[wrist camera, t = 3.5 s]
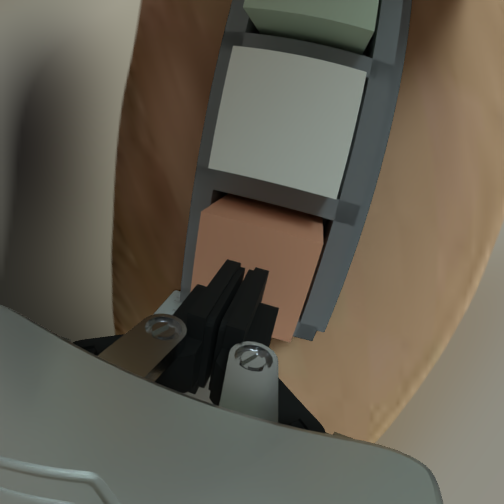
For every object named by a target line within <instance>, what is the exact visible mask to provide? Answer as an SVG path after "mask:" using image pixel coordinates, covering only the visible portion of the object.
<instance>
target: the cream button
mask: <svg viewBox="0 0 504 504" xmlns="http://www.w3.org/2000/svg"><path fill="white" fill-rule="evenodd" d="M366 74H367V72H365V71H361V70H358V69H354V68H351V67H347V66H344V65H340V64H336V63H332V62H328V61H324V60H319V59H315V58H310V57H306V56H301V55H295V54H290V53H284V52H279V51H272V50H265V49H258V48H250V47H241V46H233V48H232V53H231V57H230V61H229V66H228V70H227V75H226V79H225V84H224V88H223V93H222V98H221V103H220V108H219V113H218V118H217V123H216V128H215V133H214V138H213V144H212V149H211V155H210V161H209V166H208V168H210V169H215V170H220V171H224V172H229V173H233V174H238V175H242V176H247V177H251V178H255V179H259V180H264V181H268V182H272V183H276V184H280V185H284V186H288V187H292V188H296V189H299V190H303V191H307V192H311V193H314V194H318V195H322V196H325V197H329V198H332V199H337V195H338V192H339V188H340V184H341V181H342V177H343V173H344V169H345V165H346V162H347V158H348V154H349V150H350V146H351V142H352V137H353V133H354V129H355V125H356V120H357V116H358V112H359V107H360V103H361V98H362V93H363V89H364V84H365V79H366Z"/></svg>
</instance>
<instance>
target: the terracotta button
mask: <svg viewBox="0 0 504 504" xmlns="http://www.w3.org/2000/svg"><path fill="white" fill-rule="evenodd" d="M322 247H323V217H319V216H316V215H312V214H308V213H305V212H301V211H297V210H294V209H290V208H286V207H282V206H278V205H274V204H271V203H267V202H263V201H259V200H255V199H251V198H247V197H243V196H238V195H234V194H230V193H228V194H227V195H225V196H224V197H222V198H221V199H219V200H218V201H216V202H215V203H213V204H212V205H210V206H209V207H207V208H206V209H204V210H203V211H201V216H200V223H199V230H198V237H197V244H196V251H195V259H194V267H193V275H192V283H191V291H192V290H193V289H194V287H195V286H196V285H197V284H200V285H203V286H206V287H207V286H208V284H209V283H210V282H211V280H212V279H213V278H214V276H215V275H216V273H217V272H218V271H219V269H220V268H221V267H222V265H223V264H224V263H225V261H226V260H227V259H228V260H232V261H236V262H239V263H241V267H243V268H245V273H244V278H245V276H246V274H247V272H248V270H249V269H250V270H254V269H255V267H257V268H261V269H264V270H268V271H269V274H268V278H267V282H266V286H265V290H264V294H263V298H262V302H261V303H264V304H267V305H271V306H274V307H278V308H279V311H278V315H277V318H276V322H275V326H274V330H273V334H272V338H275V339H279V340H283V341H286V342H291V339H292V336H293V334H294V331H295V328H296V325H297V322H298V320H299V317H300V314H301V311H302V308H303V305H304V302H305V299H306V296H307V293H308V290H309V287H310V284H311V281H312V278H313V275H314V272H315V269H316V266H317V263H318V260H319V256H320V253H321V250H322ZM244 278H243V280H244ZM191 291H190V292H191Z"/></svg>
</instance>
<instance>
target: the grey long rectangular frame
mask: <svg viewBox="0 0 504 504" xmlns="http://www.w3.org/2000/svg"><path fill="white" fill-rule="evenodd" d="M244 1H245V0H233V1H232V4H231V8H230V12H229V15H228V19H227V23H226V27H225V31H224V35H223V39H222V43H221V47H220V51H219V56H218V60H217V64H216V69H215V73H214V78H213V82H212V87H211V92H210V97H209V102H208V107H207V112H206V117H205V122H204V127H203V133H202V138H201V144H200V150H199V156H198V162H197V168H196V174H195V180H194V187H193V193H192V200H191V207H190V215H189V222H188V230H187V238H186V246H185V254H184V263H183V273H182V282H181V293H180V302H181V303H182V302H183V301H184V300H185V299H186V297H187V296H188V295H189V294H190V291H191V283H192V275H193V267H194V259H195V251H196V244H197V237H198V230H199V223H200V216H201V211H203V210H204V209H206V208H207V207H209V206H210V205H212V204H213V203H215V202H216V201H218V200H219V199H221V198H222V197H224V196H225V195H227V194H228V193H230V194H234V195H238V196H243V197H247V198H251V199H255V200H259V201H263V202H267V203H271V204H274V205H278V206H282V207H286V208H290V209H294V210H297V211H301V212H305V213H308V214H312V215H316V216H319V217H323V247H322V250H321V253H320V256H319V260H318V263H317V266H316V269H315V272H314V275H313V278H312V281H311V284H310V287H309V290H308V293H307V296H306V299H305V302H304V305H303V308H302V311H301V314H300V317H299V320H298V322H297V325H296V328H295V331H294V334H293V336H294V337H298V338H302V339H306V340H310V341H313V338H314V336H315V333H316V331H321V332H325V329H326V327H327V324H328V322H329V319H330V317H331V315H332V312H333V310H334V307H335V305H336V302H337V299H338V297H339V294H340V292H341V289H342V286H343V284H344V281H345V278H346V276H347V273H348V270H349V267H350V265H351V262H352V259H353V256H354V253H355V250H356V247H357V244H358V241H359V238H360V235H361V232H362V229H363V226H364V223H365V220H366V217H367V214H368V210H369V207H370V204H371V201H372V197H373V194H374V190H375V187H376V183H377V180H378V176H379V173H380V169H381V165H382V162H383V158H384V154H385V150H386V146H387V142H388V138H389V134H390V129H391V125H392V121H393V116H394V112H395V107H396V102H397V97H398V92H399V87H400V82H401V76H402V71H403V65H404V59H405V52H406V46H407V39H408V31H409V23H410V14H411V4H412V0H379V3H378V10H377V17H376V23H375V30H374V33H373V35H372V37H371V39H370V41H369V42H368V44H367V46H366V48H365V50H364V52H363V54H362V55H360V54H356V53H352V52H349V51H345V50H341V49H337V48H333V47H329V46H325V45H320V44H316V43H311V42H306V41H301V40H295V39H290V38H284V37H277V36H270V35H263V34H260V33H259V31H258V30H257V28H256V26H255V25H254V23H253V22H252V20H251V19H250V17H249V16H248V14H247V13H246V11H245V10H244V8H243V5H244ZM233 46H241V47H250V48H258V49H265V50H272V51H279V52H284V53H290V54H295V55H301V56H306V57H310V58H315V59H319V60H324V61H328V62H332V63H336V64H340V65H344V66H347V67H351V68H354V69H358V70H361V71H365V72H367V74H366V79H365V84H364V89H363V93H362V98H361V103H360V107H359V112H358V116H357V120H356V125H355V129H354V133H353V137H352V142H351V146H350V150H349V154H348V158H347V162H346V165H345V169H344V173H343V177H342V181H341V184H340V188H339V192H338V195H337V199H332V198H329V197H325V196H322V195H318V194H314V193H311V192H307V191H303V190H299V189H296V188H292V187H288V186H284V185H280V184H276V183H272V182H268V181H264V180H259V179H255V178H251V177H247V176H242V175H238V174H233V173H229V172H224V171H220V170H215V169H210V168H208V166H209V161H210V155H211V149H212V144H213V138H214V133H215V128H216V123H217V118H218V113H219V108H220V103H221V98H222V93H223V88H224V84H225V79H226V75H227V70H228V66H229V61H230V57H231V53H232V48H233Z"/></svg>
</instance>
